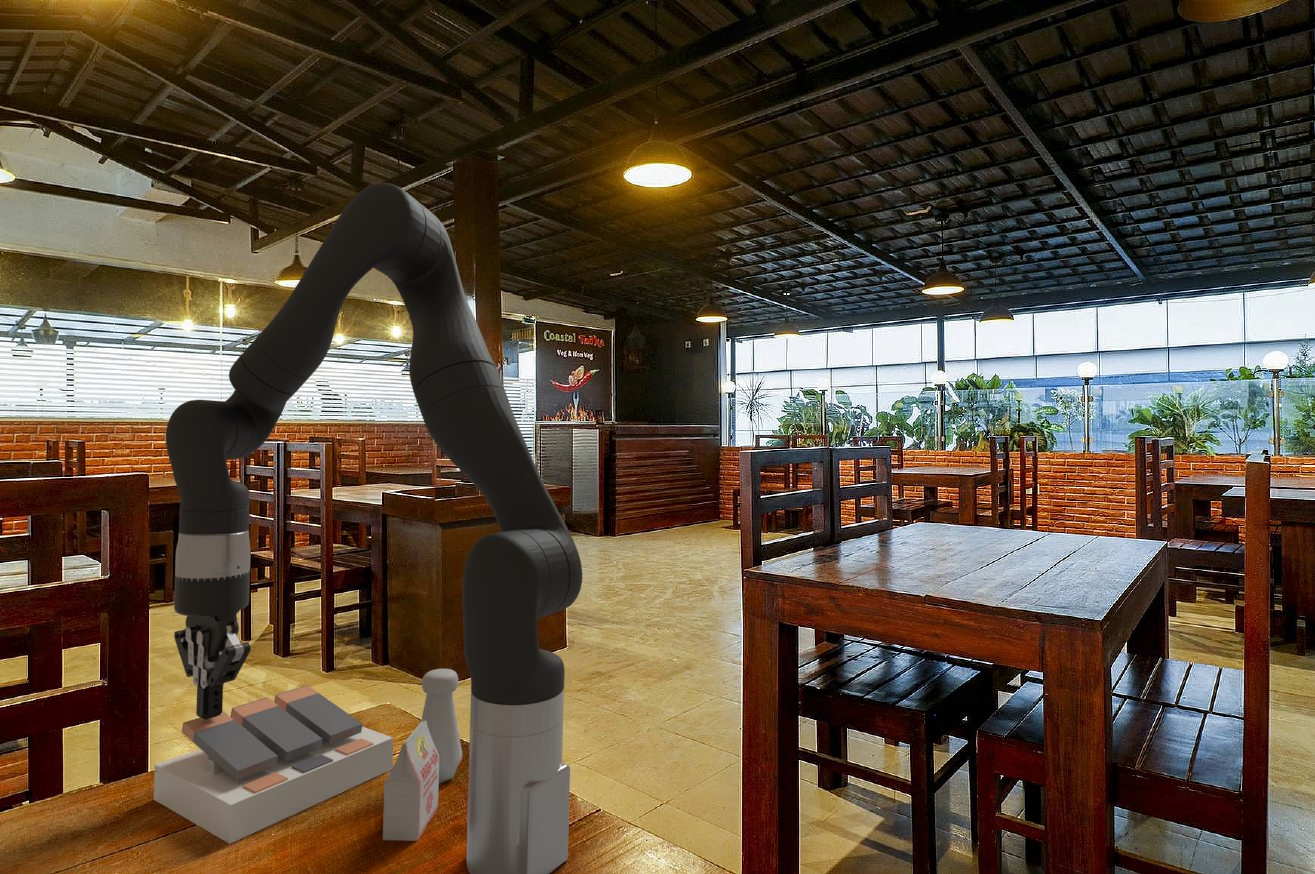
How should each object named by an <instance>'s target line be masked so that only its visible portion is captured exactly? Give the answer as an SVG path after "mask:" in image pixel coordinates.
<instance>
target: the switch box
mask: <svg viewBox="0 0 1315 874" xmlns="http://www.w3.org/2000/svg"><path fill="white" fill-rule="evenodd" d="M250 734H251V733H250ZM255 738H256V737H255ZM260 742H261V741H260ZM266 747H267V746H266ZM271 751H272V750H271ZM276 755H277V754H276ZM393 758H394V737H393V736H389V735H387V734H384V733H381V732H378V731H375V730H373V729H371V728H369V727H368V728H367V727H365V726H362V731H361V733H359V734H356V735H354V736H351V737H349V738H346V739H343V740H341V741H338V742H336V743H333V744H330V745H329V744H328V743H326V742H325V741H324V740H322V746H321V748H320V749H318V750H315V751H312V752H310V753H307V754H305V755H302V756H300V757H297V758H294V759H292V760H289V761H287V762H285V761H284V760H283V759H281V758H280V757H279V756H278V758H277V764H276V766H274V767H271V768H269V769H266V770H264V771H261V772H258V773H256V774H253V775H251V776H248V777H246V778H243V779H240V780H238V781H236V780H235V779H234V778H233V777H231V776H230V775H229V774H228V773H227V772H226V771H225V770H224V769H222V768H221V767H220V766H219V765H218V764H217V763H216V762H215V761H213V760H212V759H211V758H210V757H209V756H208V755H207V754H206V753H205V752H203V751H202V750H201V749H200V748H199V749H197V750H195V751H194V750H193V751H190V752H188V753H185V754H183V755H179V756H177V757H174V758H170V759H168V760H165V761H161V762H158V763H156V764H154V774H153V775H154V776H153V777H154V779H153V800H154V801H155V802H157V803H159V804H160V805H163V806H164V807H166V808H167V809H169V810H171V811H172V812H174V813H176V814H177V815H179V816H181V817H183V818H184V819H186V820H188V821H190V822H191V823H193V824H194V825H196V826H197V827H200V828H202V829H203V830H205V831H207V832H208V833H210V834H212V835H214V836H215V837H217V838H219V839H220V840H222V841H224V842H226V843H227V844H228V845H229V844H232V843H233V844H234V843H235V842H237V841H239V840H241V839H244V838H247V837H248V836H250V835H253V834H255V833H256V832H259V831H261V830H263V829H266V828H268V827H270V826H272V825H274V824H277V823H278V822H279V823H280V821H283V820H284V819H287V818H290V817H292V816H295V815H296V814H298V813H300V812H303V811H305V810H307V809H308V808H311V807H313V806H315V805H318V804H321V803H322V802H324V801H327V800H329V799H331V798H333V797H335V796H337V795H340V794H341V793H343V792H346V791H348V790H351V789H352V788H355V787H357V786H358V785H361V784H364V783H365V782H367V781H370V780H373V779H374V778H377V777H379V776H381V775H384V774H386V773H387V772H389V771H390V772H391V770H392V768H393V766H394V765H393V764H394V763H393V762H394V759H393ZM172 766H173V767H172ZM156 771H157V772H156Z"/></svg>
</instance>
